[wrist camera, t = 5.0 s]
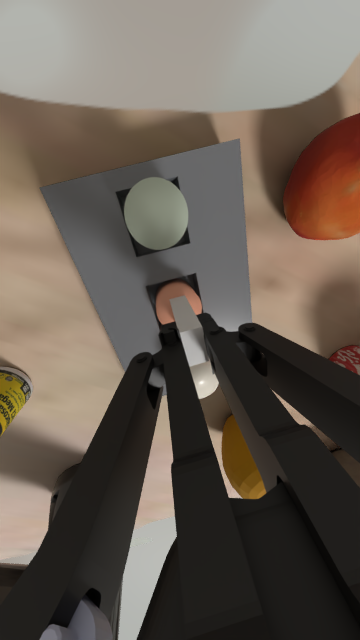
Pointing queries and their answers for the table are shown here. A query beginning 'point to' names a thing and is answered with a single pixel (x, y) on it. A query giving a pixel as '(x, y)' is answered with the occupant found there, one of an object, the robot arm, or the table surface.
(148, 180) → the button sage
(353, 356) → the mug
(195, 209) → the panel
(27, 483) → the table surface
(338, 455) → the bowl
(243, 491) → the apple
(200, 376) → the button cream
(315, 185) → the tomato
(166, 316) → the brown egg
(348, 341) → the table surface
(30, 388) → the pill bottle
